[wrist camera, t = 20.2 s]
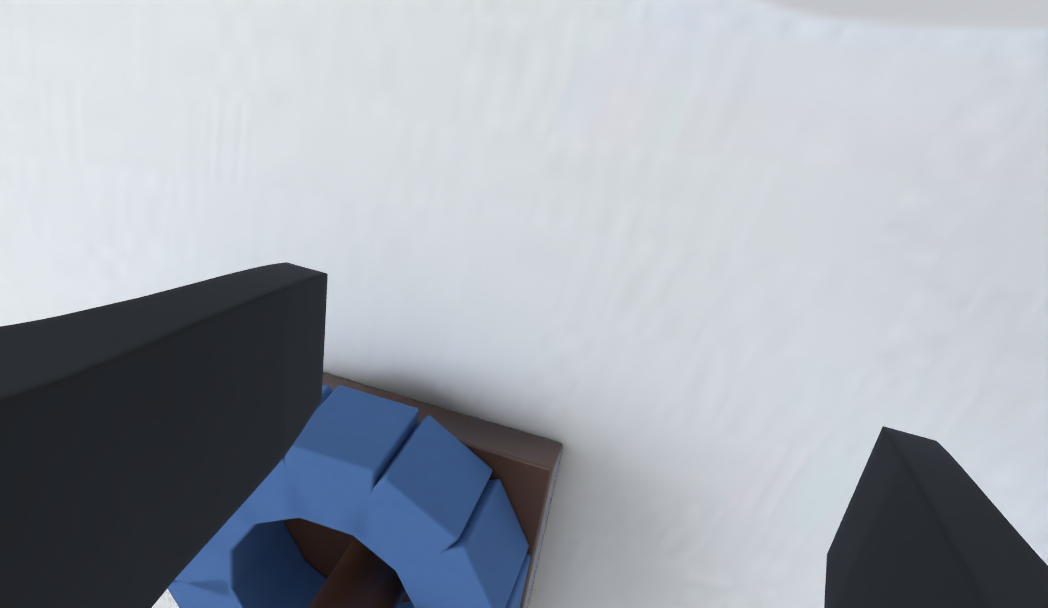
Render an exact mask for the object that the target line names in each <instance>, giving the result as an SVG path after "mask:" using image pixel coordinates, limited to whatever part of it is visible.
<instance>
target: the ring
mask: <svg viewBox="0 0 1048 608" xmlns="http://www.w3.org/2000/svg"><path fill="white" fill-rule="evenodd" d="M418 412H419V410H418V408H415V407H412V406H408V405H405V404H402V403H398V402H395V401H392V400H388V399H385V398H382V397H378V396H375V395H372V394H368V393H365V392H361V391H358V390H355V389H351V388H348V387H345V386H341V385H339V386H338V387H337V388H336V389H335V390H334V391H332V389H331V387H330V386H329V385H325V386H322V399H321V402H320V404H319V405H318V407H317V408H316V410H315V411H314V413H313V415H312V416H311V418H310V419H309V421H308V422H307V424H306V426H305V427H304V429H303V430H302V432H301V433H300V435H299V436H298V438H297V439H296V441H295V442H294V443H293V445H292V446H291V448H290V449H289V451H288V452H287V454H286V455H285V456H284V458H283V459H282V460H281V461H280V462H279V464H278V465H277V466H276V467H275V468H274V469H273V471H272V472H271V473H270V474H269V475H268V476H267V477H266V478H265V480H264V481H263V482H262V483H261V484H260V485H259V486H258V487H257V489H256V490H255V491H254V492H253V493H252V494H251V495H250V496H249V498H248V499H247V500H246V501H245V502H244V503H243V504H242V505H241V507H240V508H239V509H238V510H237V511H236V512H235V513H234V514H233V515H232V516H231V518H230V519H229V520H228V521H227V522H226V523H225V524H224V525H223V526H222V527H221V529H220V530H219V531H218V532H217V533H216V534H215V535H214V536H213V537H212V539H211V540H210V541H209V542H208V543H207V544H206V545H205V546H204V547H203V549H202V550H201V551H200V552H199V553H198V554H197V555H196V556H195V557H194V558H193V560H192V561H191V562H190V563H189V564H188V565H187V566H186V567H185V568H184V570H183V571H182V572H181V573H180V574H179V575H178V576H177V577H176V578H175V580H174V581H173V582H172V583H171V584H170V586H169V587H168V590H169V591H170V593H171V595H172V596H173V598H174V600H175V601H176V603H177V604H178V606H179V608H307V607H308V606H309V604H310V603H311V601H312V600H313V599H314V597H315V596H316V594H317V593H318V591H319V590H320V588H321V587H322V585H323V584H324V582H325V581H326V579H327V578H326V577H324V576H323V575H322V574H321V573H320V572H318V571H317V570H316V569H315V568H313V567H312V566H311V565H310V564H309V563H307V562H306V561H305V559H304V557H303V556H302V554H301V552H300V550H299V548H298V546H297V545H296V543H295V541H294V539H293V537H292V535H291V534H290V532H289V530H288V528H287V526H286V524H285V523H284V520H287V519H293V518H302V519H305V520H308V521H311V522H314V523H317V524H320V525H323V526H326V527H329V528H332V529H335V530H338V531H341V532H344V533H347V534H350V535H353V536H354V537H355V538H357V539H358V540H359V541H360V542H362V543H363V544H364V545H365V546H366V547H368V548H369V549H370V550H371V551H372V552H374V553H375V554H376V555H377V556H378V557H380V558H381V559H382V560H383V561H384V562H386V563H387V564H388V565H389V566H390V567H392V568H393V569H394V570H395V571H396V572H397V574H398V576H399V578H400V580H401V582H402V584H403V586H404V588H405V590H406V592H407V594H408V596H409V598H410V600H411V601H410V602H401V603H400V605H399V607H398V608H520V605H521V600H522V596H523V591H524V586H525V581H526V577H527V572H528V567H529V562H530V555H529V554H527V550H528V548H529V545H528V542H527V540H526V538H525V535H524V533H523V531H522V528H521V526H520V524H519V521H518V519H517V517H516V514H515V512H514V510H513V508H512V505H511V503H510V501H509V498H508V496H507V494H506V491H505V489H504V487H503V484H502V482H501V480H500V479H493V480H489V478H490V476H491V474H492V472H493V470H492V468H491V467H490V466H488V465H487V464H486V463H485V462H484V461H482V460H481V459H480V458H479V457H478V456H477V455H475V454H474V453H473V452H472V451H471V450H470V449H468V448H467V447H466V446H465V445H464V444H463V443H461V442H460V441H459V440H458V439H457V438H456V437H454V436H453V435H452V434H451V433H450V432H448V431H447V430H446V429H445V428H444V427H443V426H441V425H440V424H439V423H438V422H437V421H436V420H434V419H433V418H432V417H431V416H429V415H428V416H425V417H424V418H423V419H422V420H421V421H420V422H419V423H418V425H417V420H418Z"/></svg>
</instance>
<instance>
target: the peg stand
mask: <svg viewBox="0 0 1048 608" xmlns="http://www.w3.org/2000/svg"><path fill="white" fill-rule="evenodd" d="M325 385H329V386H330V387H331V389H332V391H334V390H335V389H336V388H337V387H338V386H339V385H341V386H345V387H348V388H351V389H355V390H358V391H361V392H365V393H368V394H372V395H375V396H378V397H382V398H385V399H388V400H392V401H395V402H398V403H402V404H405V405H408V406H412V407H415V408H418V410H419V412H418V420H417V425H418V423H419V422H420V421H421V420H422V419H423V418H424V417H425V416H428V415H429V416H431V417H432V418H433V419H434V420H436V421H437V422H438V423H439V424H440V425H441V426H443V427H444V428H445V429H446V430H447V431H448V432H450V433H451V434H452V435H453V436H454V437H456V438H457V439H458V440H459V441H460V442H461V443H463V444H464V445H465V446H466V447H467V448H468V449H470V450H471V451H472V452H473V453H474V454H475V455H477V456H478V457H479V458H480V459H481V460H482V461H484V462H485V463H486V464H487V465H488V466H490V467H491V468H492V470H493V472H492V474H491V476H490V478H489V480H493V479H500V480H501V482H502V484H503V487H504V489H505V491H506V494H507V496H508V498H509V501H510V503H511V505H512V508H513V510H514V512H515V514H516V517H517V519H518V521H519V524H520V526H521V528H522V531H523V533H524V535H525V538H526V540H527V542H528V545H529V548H528V550H527V554H529V555H530V562H529V567H528V572H527V577H526V581H525V586H524V591H523V596H522V600H521V605H520V608H528V604H529V600H530V595H531V591H532V586H533V582H534V577H535V572H536V568H537V563H538V559H539V554H540V550H541V545H542V540H543V536H544V531H545V527H546V522H547V517H548V513H549V508H550V504H551V499H552V495H553V490H554V485H555V481H556V476H557V472H558V467H559V463H560V458H561V453H562V449H563V447H562V444H560V443H557V442H553V441H550V440H547V439H543V438H540V437H537V436H533V435H530V434H526V433H523V432H520V431H516V430H513V429H510V428H506V427H503V426H500V425H496V424H493V423H489V422H486V421H483V420H479V419H476V418H473V417H469V416H466V415H463V414H459V413H456V412H452V411H449V410H446V409H442V408H439V407H436V406H432V405H429V404H425V403H422V402H419V401H415V400H412V399H409V398H405V397H402V396H399V395H395V394H392V393H388V392H385V391H382V390H378V389H375V388H372V387H368V386H365V385H362V384H358V383H355V382H351V381H348V380H345V379H341V378H338V377H335V376H331V375H328V374H324V373H323V378H322V386H325ZM284 523H285V524H286V526H287V528H288V530H289V532H290V534H291V535H292V537H293V539H294V541H295V543H296V545H297V546H298V548H299V550H300V552H301V554H302V556H303V557H304V559H305V561H306V562H307V563H309V564H310V565H311V566H312V567H313V568H315V569H316V570H317V571H318V572H320V573H321V574H322V575H323V576H324V577H326V578H327V579H326V581H325V582H324V584H323V585H322V587H321V588H320V590H319V591H318V593H317V594H316V596H315V597H314V599H313V600H312V601H311V603H310V604H309V606H308V607H307V608H398V607H399V605H400V603H401V602H410V601H411V600H410V598H409V596H408V594H407V592H406V590H405V588H404V586H403V584H402V582H401V580H400V578H399V576H398V574H397V572H396V571H395V570H394V569H393V568H392V567H390V566H389V565H388V564H387V563H386V562H384V561H383V560H382V559H381V558H380V557H378V556H377V555H376V554H375V553H374V552H372V551H371V550H370V549H369V548H368V547H366V546H365V545H364V544H363V543H362V542H360V541H359V540H358V539H357V538H355V537H354V536H353V535H350V534H347V533H344V532H341V531H338V530H335V529H332V528H329V527H326V526H323V525H320V524H317V523H314V522H311V521H308V520H305V519H302V518H293V519H287V520H284Z"/></svg>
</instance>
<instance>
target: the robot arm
mask: <svg viewBox="0 0 1048 608" xmlns="http://www.w3.org/2000/svg"><path fill="white" fill-rule="evenodd" d="M326 295H327V274H326V273H323V272H319V271H315V270H312V269H308V268H305V267H301V266H297V265H294V264H290V263H279V264H272V265H266V266H261V267H257V268H252V269H248V270H244V271H240V272H236V273H232V274H228V275H224V276H220V277H216V278H212V279H209V280H205V281H201V282H197V283H194V284H190V285H186V286H182V287H178V288H174V289H171V290H167V291H163V292H159V293H155V294H152V295H148V296H144V297H140V298H136V299H131V300H127V301H123V302H118V303H114V304H110V305H105V306H101V307H96V308H92V309H88V310H83V311H79V312H75V313H70V314H66V315H62V316H57V317H52V318H47V319H42V320H36V321H31V322H25V323H20V324H14V325H8V326H1V327H0V608H151V607H152V606H153V605H154V604H155V603H156V601H157V600H158V599H159V598H160V597H161V595H162V594H163V593H164V592H165V590H166V589H167V588H168V587H169V586H170V584H171V583H172V582H173V581H174V580H175V578H176V577H177V576H178V575H179V574H180V573H181V572H182V571H183V570H184V568H185V567H186V566H187V565H188V564H189V563H190V562H191V561H192V560H193V558H194V557H195V556H196V555H197V554H198V553H199V552H200V551H201V550H202V549H203V547H204V546H205V545H206V544H207V543H208V542H209V541H210V540H211V539H212V537H213V536H214V535H215V534H216V533H217V532H218V531H219V530H220V529H221V527H222V526H223V525H224V524H225V523H226V522H227V521H228V520H229V519H230V518H231V516H232V515H233V514H234V513H235V512H236V511H237V510H238V509H239V508H240V507H241V505H242V504H243V503H244V502H245V501H246V500H247V499H248V498H249V496H250V495H251V494H252V493H253V492H254V491H255V490H256V489H257V487H258V486H259V485H260V484H261V483H262V482H263V481H264V480H265V478H266V477H267V476H268V475H269V474H270V473H271V472H272V471H273V469H274V468H275V467H276V466H277V465H278V464H279V462H280V461H281V460H282V459H283V458H284V456H285V455H286V454H287V452H288V451H289V449H290V448H291V446H292V445H293V443H294V442H295V441H296V439H297V438H298V436H299V435H300V433H301V432H302V430H303V429H304V427H305V426H306V424H307V422H308V421H309V419H310V418H311V416H312V415H313V413H314V411H315V410H316V408H317V407H318V405H319V404H320V402H321V399H322V378H323V357H324V337H325V316H326ZM824 608H1048V566H1047V565H1046V563H1045V562H1044V561H1043V560H1042V559H1041V558H1040V557H1039V556H1038V555H1037V553H1036V552H1035V551H1034V550H1033V549H1032V548H1031V547H1030V546H1029V544H1028V543H1027V542H1026V541H1025V540H1024V539H1023V538H1022V537H1021V535H1020V534H1019V533H1018V532H1017V531H1016V530H1015V529H1014V527H1013V526H1012V525H1011V524H1010V523H1009V522H1008V520H1007V519H1006V518H1005V517H1004V516H1003V515H1002V514H1001V512H1000V511H999V510H998V509H997V508H996V507H995V505H994V504H993V503H992V502H991V501H990V500H989V498H988V497H987V496H986V495H985V494H984V493H983V491H982V490H981V489H980V488H979V487H978V486H977V484H976V483H975V482H974V481H973V480H972V479H971V478H970V476H969V475H968V474H967V473H966V472H965V471H964V469H963V468H962V467H961V466H960V465H959V464H958V463H957V462H956V461H955V459H954V458H953V457H952V456H951V455H950V454H949V453H948V452H947V451H946V450H945V449H944V448H943V447H942V446H941V445H940V444H939V443H938V442H937V441H934V440H931V439H927V438H924V437H920V436H916V435H913V434H909V433H905V432H902V431H898V430H894V429H891V428H887V427H884V426H883V427H882V430H881V432H880V434H879V436H878V439H877V441H876V443H875V446H874V448H873V450H872V453H871V455H870V457H869V459H868V462H867V464H866V466H865V469H864V471H863V473H862V475H861V478H860V480H859V482H858V485H857V487H856V489H855V492H854V494H853V496H852V498H851V501H850V503H849V505H848V508H847V510H846V512H845V514H844V517H843V519H842V521H841V524H840V526H839V528H838V531H837V533H836V535H835V537H834V540H833V542H832V544H831V547H830V549H829V551H828V553H827V567H826V584H825V606H824Z"/></svg>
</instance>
